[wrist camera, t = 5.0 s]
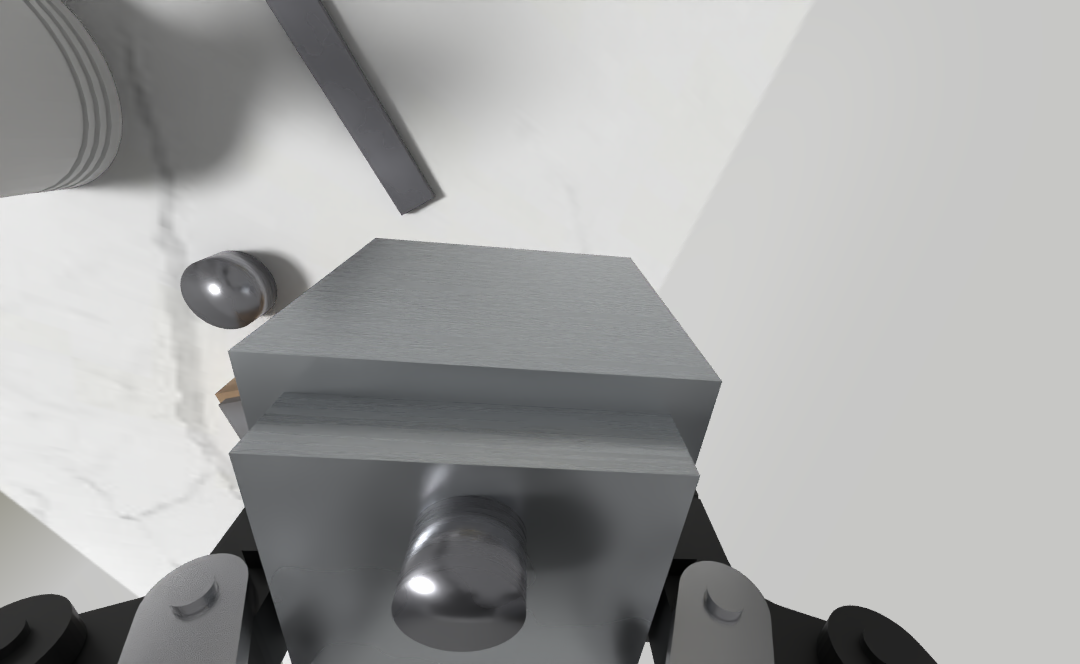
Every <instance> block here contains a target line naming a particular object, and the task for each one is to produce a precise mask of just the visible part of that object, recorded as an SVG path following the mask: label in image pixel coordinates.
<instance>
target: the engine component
mask: <svg viewBox="0 0 1080 664" xmlns="http://www.w3.org/2000/svg"><path fill="white" fill-rule="evenodd" d="M121 137H122V112H121V104H120V100H119V96H118V93H117V89H116V85H115V82H114V79H113V77H112V75H111V72H110V70H109V68H108V65H107V63H106V61H105V59H104V57H103V55H102V54H101V52H100V50H99V48H98V46H97V45H96V43H95V42H94V40H93V39H92V38H91V36H90V35H89V33H88V32H87V31H86V29H85V28H84V26H83V25H82V24H81V22H80V21H79V20H78V19H77V17H76V16H75V15H74V14H73V13H72V12H71V11H70V10H69V9H68V8H67V7H66V6H65V5H64V3H63V2H62V1H61V0H0V198H2V197H9V196H16V195H22V194H29V193H39V192H47V191H54V190H61V189H69V188H74V187H77V186H81V185H84V184H87V183H89V182H91V181H93V180H95V179H96V178H98V177H99V176H100V175H101V174H102V173H103V172H104V171H106V170H107V169H108V167H109V166H110V164H111V163H112V161H113V159H114V158H115V156H116V155H117V151H118V148H119V144H120V141H121Z"/></svg>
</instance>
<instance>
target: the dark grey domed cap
mask: <svg viewBox="0 0 1080 664" xmlns="http://www.w3.org/2000/svg"><path fill="white" fill-rule="evenodd" d="M181 292H182V295H183V298H184V300H185V302H186V303H187V305H188V306H189V308H190V309H191V310H192V311H193V312H194V313H195V314H196V315H197V316H198V317H199V318H201V319H202V320H204V321H205V322H207V323H209V324H211V325H213V326H216V327H219V328H224V329H238V328H242V327H245V326H247V325H248V324H250V323H251V322H253V321H254V320H256V319H257V318H258V317H260V316H261V315H263V314H264V313H265V312H267V311H268V310H269V309H271V307H272V306H273V305H274V303H275V300H276V296H277V288H276V284H275V281H274V278H273V277H272V275H271V273H270V272H269V270H268V269H267V268H266V267H265V266H264V265H263V264H262V263H261V262H260V261H258V260H257V259H255V258H254V257H252V256H250V255H248V254H245V253H242V252H238V251H223V252H220V253H217V254H215V255H212V256H210V257H207V258H205V259H202V260H200V261H198V262H195V263H193V264H191V265H190V266H189V267H188V268H187V269H186V270H185V271H184V273H183V275H182V278H181Z"/></svg>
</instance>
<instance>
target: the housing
mask: <svg viewBox="0 0 1080 664" xmlns="http://www.w3.org/2000/svg"><path fill="white" fill-rule="evenodd" d="M228 353H229V357H230V361H231V364H232V368H233V372H234V376H235V379H236V383H237V387H238V391H239V394H240V398H241V402H242V406H243V410H244V413H245V417H246V421H247V425H248V428H249V431H248V432H247V433H246V435H245V436H244V437H243V438H242V439H241V440H240V441H239V442H238V443H237V445H236V446H235V447H234V448H233V449H232V450H231V451H230V452H229V456H230V459H231V462H232V466H233V469H234V472H235V476H236V479H237V482H238V486H239V489H240V492H241V496H242V499H243V502H244V506H245V509H246V512H247V516H248V519H249V522H250V526H251V529H252V532H253V536H254V539H255V542H256V546H257V549H258V552H259V556H260V559H261V562H262V566H263V569H264V572H265V576H266V579H267V582H268V586H269V589H270V592H271V596H272V599H273V602H274V606H275V609H276V612H277V616H278V619H279V622H280V626H281V629H282V632H283V636H284V639H285V642H286V646H287V649H288V653H289V656H290V659H291V663H292V664H638V662H639V659H640V656H641V653H642V650H643V647H644V644H645V641H646V638H647V635H648V632H649V629H650V626H651V623H652V619H653V616H654V613H655V610H656V607H657V604H658V601H659V598H660V595H661V592H662V589H663V586H664V583H665V580H666V577H667V574H668V571H669V568H670V565H671V562H672V559H673V556H674V553H675V550H676V547H677V544H678V541H679V538H680V535H681V532H682V529H683V526H684V523H685V520H686V517H687V514H688V511H689V508H690V505H691V502H692V499H693V496H694V493H695V490H696V486H697V483H698V480H699V477H700V475H699V473H698V471H697V468H696V466H695V464H696V461H697V458H698V455H699V452H700V448H701V446H702V442H703V439H704V436H705V433H706V430H707V427H708V424H709V420H710V417H711V414H712V411H713V408H714V405H715V402H716V398H717V396H718V392H719V389H720V386H721V383H722V381H721V379H720V378H719V377H718V375H717V374H716V373H715V371H714V370H713V368H712V367H711V366H710V365H709V363H708V362H707V360H706V359H705V358H704V356H703V355H702V354H701V352H700V351H699V350H698V348H697V347H696V346H695V344H694V343H693V341H692V340H691V339H690V338H689V336H688V335H687V333H686V332H685V331H684V330H683V328H682V327H681V325H680V324H679V323H678V321H677V320H676V319H675V317H674V316H673V315H672V313H671V312H670V311H669V309H668V308H667V306H666V305H665V304H664V302H663V301H662V300H661V298H660V297H659V296H658V294H657V293H656V292H655V290H654V289H653V287H652V286H651V285H650V283H649V282H648V281H647V279H646V278H645V277H644V275H643V274H642V273H641V271H640V270H639V269H638V267H637V266H636V265H635V263H634V262H633V261H632V259H631V258H627V257H615V256H602V255H589V254H576V253H563V252H550V251H537V250H524V249H511V248H499V247H486V246H473V245H460V244H447V243H434V242H421V241H408V240H395V239H383V238H375V239H374V240H372V241H371V242H370V243H369V244H367V245H366V246H365V247H363V248H362V249H361V250H359V251H358V252H357V253H355V254H354V255H353V256H352V257H350V258H349V259H348V260H346V261H345V262H344V263H342V264H341V265H340V266H338V267H337V268H336V269H335V270H333V271H332V272H331V273H329V274H328V275H327V276H325V277H324V278H323V279H321V280H320V281H319V282H318V283H316V284H315V285H314V286H312V287H311V288H310V289H308V290H307V291H306V292H304V293H303V294H302V295H301V296H299V297H298V298H297V299H295V300H294V301H293V302H291V303H290V304H289V305H287V306H286V307H285V308H284V309H282V310H281V311H280V312H278V313H277V314H276V315H274V316H273V317H272V318H270V319H269V320H268V321H267V322H265V323H264V324H263V325H261V326H260V327H259V328H257V329H256V330H255V331H253V332H252V333H251V334H250V335H248V336H247V337H246V338H244V339H243V340H242V341H240V342H239V343H238V344H236V345H235V346H234V347H233V348H231V349H230V350H229V351H228Z"/></svg>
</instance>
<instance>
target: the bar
mask: <svg viewBox="0 0 1080 664" xmlns="http://www.w3.org/2000/svg"><path fill="white" fill-rule="evenodd" d="M266 2H267V3H268V5H269V7H270V8H271V10H272V11H273V13H274V14H275V16H276V18H277V19H278V21H279V22H280V24H281V25H282V27H283V29H284V30H285V32H286V33H287V35H288V37H289V38H290V40H291V41H292V43H293V44H294V46H295V48H296V49H297V51H298V52H299V54H300V55H301V57H302V59H303V60H304V62H305V63H306V65H307V67H308V68H309V70H310V71H311V73H312V74H313V76H314V78H315V79H316V81H317V82H318V84H319V85H320V87H321V89H322V90H323V92H324V93H325V95H326V97H327V98H328V100H329V101H330V103H331V104H332V106H333V108H334V109H335V111H336V112H337V114H338V115H339V117H340V119H341V120H342V122H343V123H344V125H345V127H346V128H347V130H348V131H349V133H350V134H351V136H352V138H353V139H354V141H355V142H356V144H357V145H358V147H359V149H360V150H361V152H362V153H363V155H364V157H365V158H366V160H367V161H368V163H369V164H370V166H371V168H372V169H373V171H374V172H375V174H376V175H377V177H378V179H379V180H380V182H381V183H382V185H383V187H384V188H385V190H386V191H387V193H388V194H389V196H390V198H391V199H392V201H393V202H394V204H395V205H396V207H397V209H398V210H399V212H400V213H401V215H403V214H405V213H407V212H409V211H411V210H412V209H414V208H416V207H418V206H420V205H422V204H423V203H425V202H427V201H429V200H431V199H433V198H434V197H435V195H434V193H433V192H432V190H431V188H430V186H429V185H428V183H427V181H426V180H425V178H424V176H423V174H422V173H421V171H420V169H419V168H418V166H417V164H416V163H415V161H414V159H413V157H412V156H411V154H410V152H409V151H408V149H407V147H406V145H405V144H404V142H403V140H402V139H401V137H400V135H399V134H398V132H397V130H396V128H395V127H394V125H393V123H392V122H391V120H390V118H389V117H388V115H387V113H386V111H385V110H384V108H383V106H382V105H381V103H380V101H379V99H378V98H377V96H376V94H375V93H374V91H373V89H372V88H371V86H370V84H369V82H368V81H367V79H366V77H365V76H364V74H363V72H362V70H361V69H360V67H359V65H358V64H357V62H356V60H355V59H354V57H353V55H352V53H351V52H350V50H349V48H348V47H347V45H346V43H345V42H344V40H343V38H342V36H341V35H340V33H339V31H338V30H337V28H336V26H335V24H334V23H333V21H332V19H331V18H330V16H329V14H328V13H327V11H326V9H325V7H324V6H323V4H322V2H321V1H320V0H266Z"/></svg>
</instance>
